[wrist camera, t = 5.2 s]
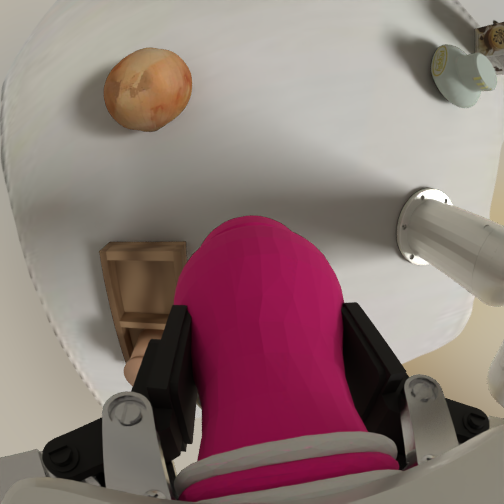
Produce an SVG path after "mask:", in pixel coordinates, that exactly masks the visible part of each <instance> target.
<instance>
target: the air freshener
mask: <svg viewBox="0 0 504 504" xmlns="http://www.w3.org/2000/svg"><path fill="white" fill-rule="evenodd" d="M431 73H432V76H433V79H434V82H435V84H436V86H437V87H438V89H439V91H440V92H441V93H442V95H443V96H444V97H445V98H446V99H447V100H448V101H449V102H451V103H452V104H454V105H456V106H458V107H461V108H470V107H472V106H474V105H475V104H476V102H477V101H478V99H479V97H480V94H481V91H492V90H494V89H495V88H496V85H497V77H496V73H495V70H494V67H493V65H492V64H491V62H490V61H489V59H488V58H487V57H486V56H484V55H483V54H481V53H473V54H469V55H467V54H466V53H465V52H463V51H462V50H461V49H459V48H457V47H455V46H452V45H447V44H446V45H441V46H440V47H439V48H438V49H437V50H436V52H435V54H434V56H433V59H432V63H431Z"/></svg>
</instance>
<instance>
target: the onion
mask: <svg viewBox="0 0 504 504" xmlns="http://www.w3.org/2000/svg"><path fill="white" fill-rule="evenodd" d="M191 92H192V77H191V73H190V71H189V68H188V67H187V65H186V64H185V62H184V61H183V60H182V59H181V58H180V57H179V56H178V55H177V54H175V53H173V52H171V51H169V50H164V49H156V48H144V49H140V50H137V51H135V52H133V53H132V54H130V55H128V56H126V57H125V58H123V59H122V60H121V61H120V62H119V63H118V64H117V65H116V66H115V67H114V68H113V69H112V70H111V72H110V73H109V75H108V77H107V79H106V82H105V85H104V100H105V104H106V107H107V109H108V111H109V113H110V114H111V116H112V117H113V118H114V119H115V120H116V121H117V122H118V123H119V124H120V125H122V126H123V127H125V128H128V129H133V130H141V131H145V132H153V131H157V130H158V129H160V128H161V127H163V126H165V125H166V124H167V123H169V122H170V121H172V120H173V119H175V118H176V117H177V116H178V115H179V114H180V113H181V112H182V111H183V110H184V108H185V107H186V105H187V104H188V102H189V99H190V96H191Z"/></svg>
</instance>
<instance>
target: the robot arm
mask: <svg viewBox="0 0 504 504" xmlns="http://www.w3.org/2000/svg"><path fill="white" fill-rule="evenodd" d="M397 243H398V246H399V249H400V251H401V253H402V255H403V256H404V257H405V258H406V259H407V260H408V261H409V262H411V263H413V264H415V265H427V264H431V265H432V266H434V267H435V268H437V269H438V270H440V271H441V272H443V273H444V274H445V275H447V276H448V277H450V278H451V279H452V280H454V281H455V282H456V283H458V284H459V285H461V286H462V287H463V288H465V289H466V290H467V291H469V292H470V293H471V294H472V295H474V296H475V297H477V298H478V299H479V300H480V301H482V302H483V303H485V304H487V305H489V306H494V307H499V306H504V226H503V225H500V224H498V223H496V222H493V221H491V220H489V219H486V218H484V217H481V216H479V215H476V214H474V213H471V212H469V211H466V210H464V209H461V208H458V207H456V206H453V205H452V203H451V201H450V200H449V198H448V197H447V196H446V195H445V194H444V193H443V192H441V191H439V190H436V189H432V188H427V189H422V190H420V191H418V192H416V193H415V194H414V195H413V196H412V197H411V198H410V199H409V200H408V201H407V202H406V204H405V205H404V207H403V209H402V211H401V214H400V217H399V220H398V225H397ZM341 312H342V319H343V329H344V331H343V360H344V368H345V376H346V380H347V383H348V386H349V390H350V393H351V396H352V399H353V403H354V406H355V408H356V410H357V412H358V414H359V416H360V417H361V419H362V421H363V423H364V425H365V427H366V429H367V431H368V432H371V433H376V434H381V435H384V436H386V437H388V438H389V439H391V440H392V441H394V443H395V445H396V447H397V451H398V452H397V457H396V461H397V462H398V464H399V470H402V471H403V472H400V473H397V474H395V475H392V476H389V477H386V478H383V479H380V480H377V481H374V482H371V483H367V484H364V485H361V486H358V487H355V488H352V489H349V490H346V491H342V492H339V493H334V494H330V495H325V496H320V497H315V498H309V499H301V500H288V501H274V502H261V503H200V502H187V501H178V499H179V496H178V495H177V493H176V491H175V487H174V481H175V479H176V476H177V473H176V469H175V465H174V461H173V459H175V458H176V457H178V456H180V454H181V451H185V452H186V447H187V444H192V442H193V432H194V420H195V411H196V401H197V391H198V390H197V387H196V384H195V382H194V379H193V371H192V357H191V320H192V317H191V315H190V314H189V312H188V311H187V305H172V308H171V311H170V314H169V316H168V319H167V322H166V325H165V328H164V331H163V334H162V337H161V339H151V340H150V341H149V343H148V346H147V348H146V351H145V354H144V356H143V359H142V362H141V365H140V368H139V370H138V373H137V376H136V379H135V382H134V385H133V388H132V391H131V392H121V393H117V394H115V395H113V396H111V397H110V398H109V399H108V400H107V401H106V403H105V404H104V406H103V411H102V418H100V419H97V420H95V421H93V422H91V423H89V424H87V425H84V426H83V427H80V428H78V429H75V430H73V431H71V432H69V433H66V434H64V435H61V436H59V437H57V438H54V439H53V440H51V441H50V442H48V443H47V444H46V446H45V447H44V450H43V451H40V452H39V450H37V449H35V450H32V451H28V452H23V453H19V454H15V455H11V456H5V457H1V458H0V504H504V418H498V417H492V416H489V417H487V416H486V414H485V413H484V412H483V411H481V410H480V409H477V408H474V407H471V406H468V405H465V404H462V403H459V402H456V401H453V400H450V399H447V398H445V397H444V394H443V391H442V388H441V387H440V385H439V383H438V382H437V381H436V380H434V379H433V378H431V377H429V376H426V375H420V374H419V375H413V376H411V377H409V376H408V375H407V373H406V370H405V369H404V367H403V366H402V364H401V363H400V361H399V360H398V358H397V357H396V356H395V354H394V353H393V351H392V350H391V348H390V347H389V346H388V344H387V343H386V341H385V340H384V338H383V337H382V336H381V334H380V333H379V331H378V330H377V329H376V327H375V326H374V324H373V323H372V322H371V320H370V319H369V318H368V316H367V315H366V314H365V312H364V311H363V309H362V308H361V307H360V305H359V304H358V303H356V302H354V303H343V307H342V308H341ZM487 384H488V388H489V391H490V393H491V395H492V396H493V398H494V399H495V400H496V401H497V402H498V403H499V404H500V405H501V406H502V407H504V341H503V343H502V344H501V346H500V348H499V350H498V352H497V354H496V356H495V357H494V359H493V361H492V363H491V366H490V368H489V371H488V376H487Z"/></svg>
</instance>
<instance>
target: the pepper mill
mask: <svg viewBox="0 0 504 504" xmlns="http://www.w3.org/2000/svg"><path fill="white" fill-rule="evenodd" d="M343 303H344V300H343V295H342V290H341V286H340V284H339V281H338V279H337V277H336V274H335V273H334V271H333V269H332V268H331V266H330V264H329V263H328V261H327V260H326V258H325V256H324V255H323V254H322V253H321V252H320V251H319V250H318V249H317V248H316V247H315V246H314V245H313V244H312V243H311V242H309V241H308V240H306V239H305V238H303V237H302V236H300V235H298V234H296V233H294V232H292V231H291V230H289V229H288V228H287V227H286V226H284V225H283V224H282V223H280V222H277V221H275V220H273V219H270V218H266V217H262V216H243V217H238V218H234V219H231V220H228V221H226V222H224V223H223V224H221V225H220V226H218V227H217V228H215V229H214V230H213V231H212V232H211V233H210V234H209V235H208V236H207V237H206V239H205V240H204V242H203V243H202V245H201V247H200V248H199V249H198V250H197V251H196V252H195V253H194V254H193V255H192V256H191V258H190V259H189V260H188V262H187V263H186V265H185V266H184V268H183V270H182V272H181V274H180V276H179V279H178V282H177V286H176V290H175V296H174V305H187V311H188V312H189V314H190V315H191V317H192V320H191V357H192V371H193V379H194V382H195V384H196V387H197V390H198V394H199V399H200V403H201V408H202V439H201V444H200V449H199V455H198V461H197V462H195V463H192V464H190V465H189V466H187V467H186V468H184V469H183V470H181V472H180V473H179V474H178V475H177V476H176V479H175V481H174V487H175V491H176V493H177V495H178V496H179V499H178V501H187V502H200V503H261V502H274V501H288V500H301V499H309V498H315V497H320V496H325V495H330V494H334V493H339V492H342V491H346V490H349V489H352V488H355V487H358V486H361V485H364V484H367V483H371V482H374V481H377V480H380V479H383V478H386V477H389V476H392V475H395V474H397V473H400V472H403V471H402V470H399V464H398V462H397V461H396V457H397V452H398V451H397V447H396V445H395V443H394V441H392V440H391V439H389V438H388V437H386V436H384V435H381V434H376V433H371V432H368V431H367V429H366V427H365V425H364V423H363V421H362V419H361V417H360V416H359V414H358V412H357V410H356V408H355V406H354V403H353V399H352V396H351V393H350V390H349V386H348V383H347V380H346V376H345V368H344V360H343V331H344V329H343V319H342V312H341V308H342V307H343Z"/></svg>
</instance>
